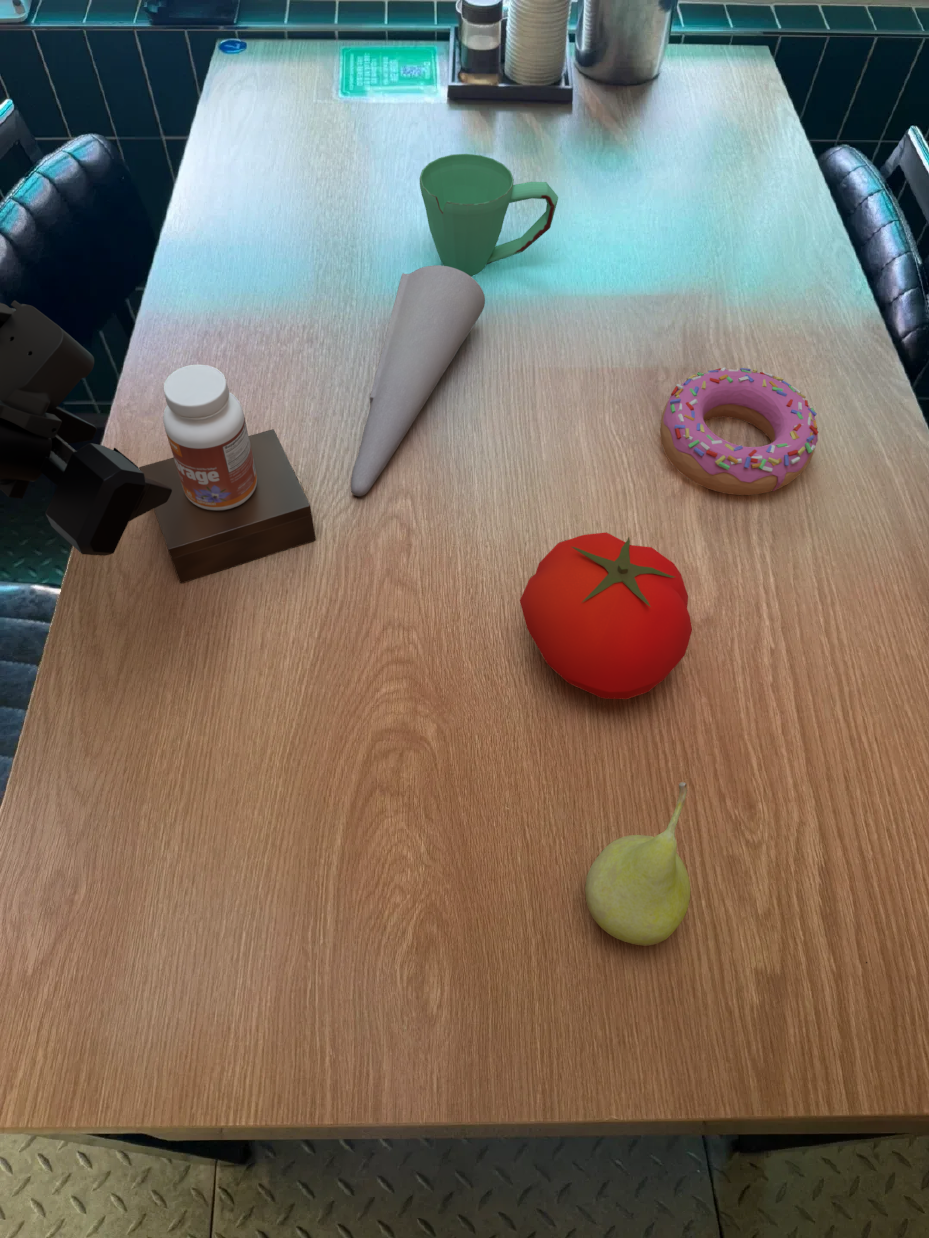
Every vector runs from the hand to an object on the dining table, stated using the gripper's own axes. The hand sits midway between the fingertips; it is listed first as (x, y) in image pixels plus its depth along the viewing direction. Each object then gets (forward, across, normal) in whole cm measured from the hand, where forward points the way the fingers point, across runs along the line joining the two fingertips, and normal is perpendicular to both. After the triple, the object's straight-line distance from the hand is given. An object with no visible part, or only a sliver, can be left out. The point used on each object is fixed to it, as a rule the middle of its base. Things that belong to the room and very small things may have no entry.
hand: (130, 463), depth 70 cm
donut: (+41, -27, -24) cm, 54 cm away
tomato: (+22, -32, -4) cm, 39 cm away
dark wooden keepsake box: (+14, 0, +4) cm, 14 cm away
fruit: (+12, -46, +6) cm, 48 cm away
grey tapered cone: (+30, -2, -12) cm, 32 cm away
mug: (+45, +10, -28) cm, 54 cm away
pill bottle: (+11, 0, +1) cm, 11 cm away
